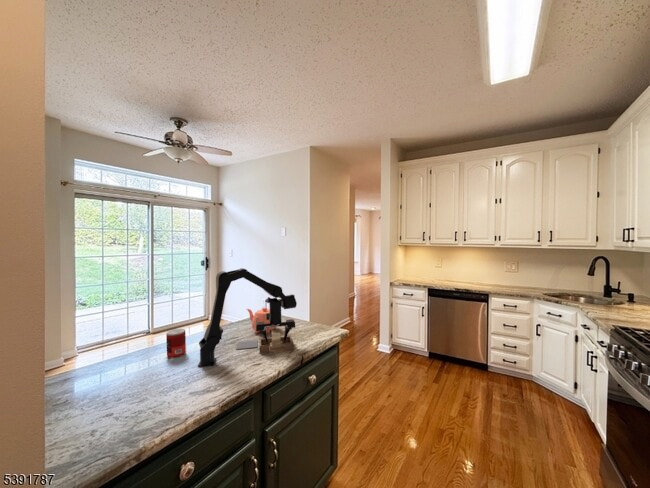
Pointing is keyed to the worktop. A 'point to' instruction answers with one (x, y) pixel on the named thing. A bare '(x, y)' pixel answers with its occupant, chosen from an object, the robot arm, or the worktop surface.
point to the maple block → (276, 338)
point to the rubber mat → (247, 344)
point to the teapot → (260, 319)
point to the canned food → (176, 343)
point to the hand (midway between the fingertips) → (276, 342)
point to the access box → (284, 346)
